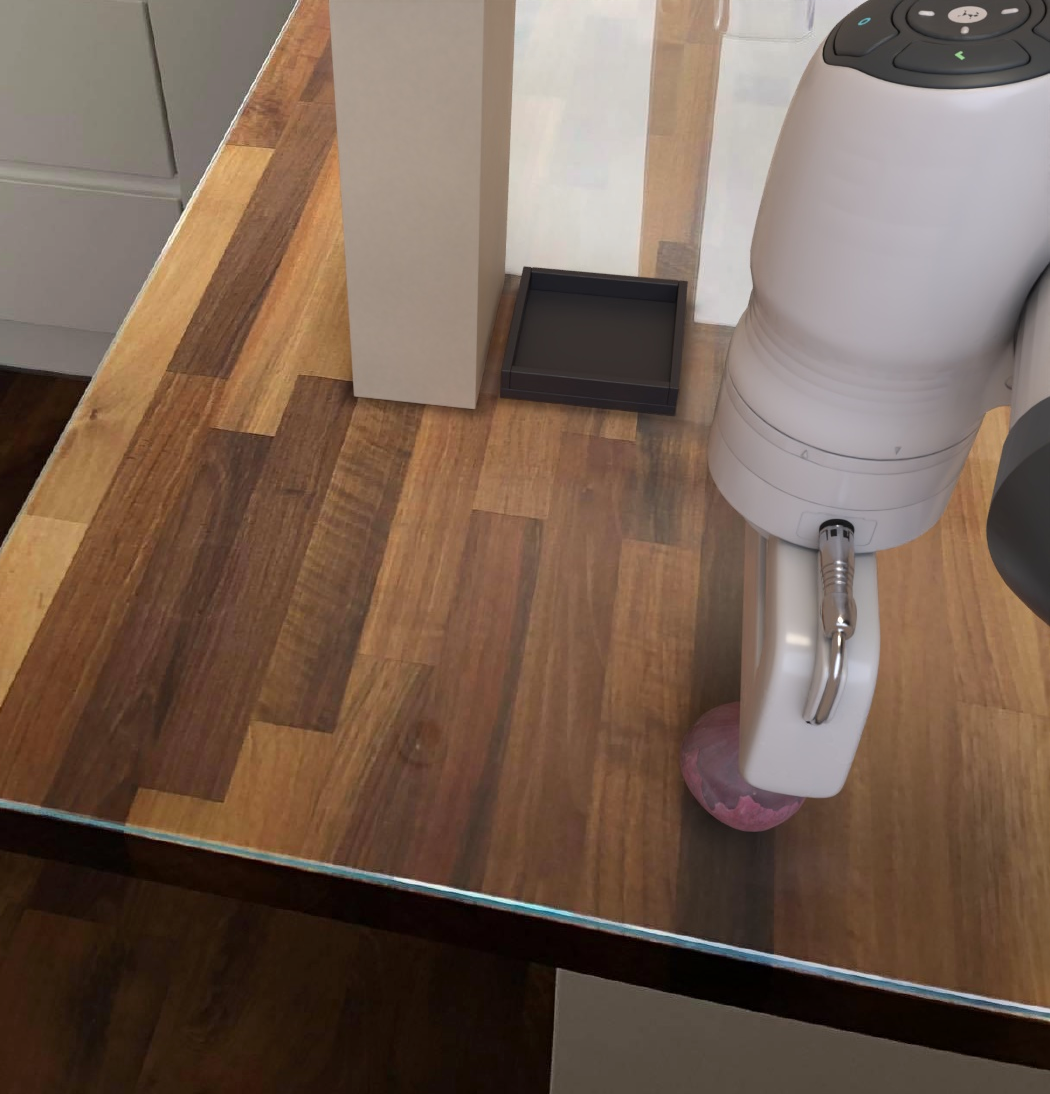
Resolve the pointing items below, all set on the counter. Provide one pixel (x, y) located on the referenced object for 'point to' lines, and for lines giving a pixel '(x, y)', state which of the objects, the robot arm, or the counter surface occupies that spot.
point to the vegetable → (728, 775)
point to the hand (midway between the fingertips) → (764, 666)
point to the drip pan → (596, 340)
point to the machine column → (423, 189)
